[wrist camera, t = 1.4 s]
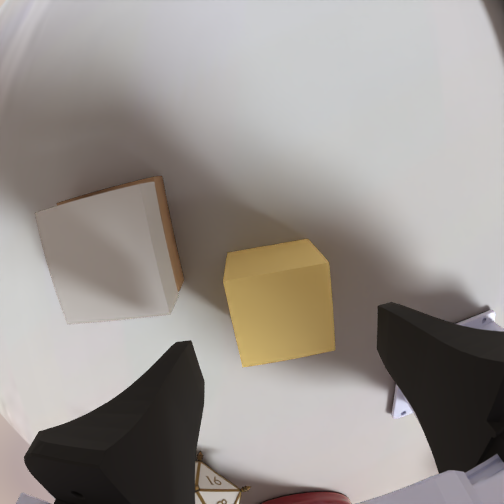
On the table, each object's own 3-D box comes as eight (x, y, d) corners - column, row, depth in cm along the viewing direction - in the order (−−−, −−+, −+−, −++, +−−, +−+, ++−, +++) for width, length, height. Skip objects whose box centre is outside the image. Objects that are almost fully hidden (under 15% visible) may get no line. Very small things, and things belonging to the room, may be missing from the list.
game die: (182, 436, 26) (103, 469, 17) (260, 443, 22) (187, 497, 13) (200, 505, 24) (134, 548, 15) (274, 518, 20) (217, 581, 11)
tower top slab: (154, 181, 14) (140, 183, 12) (178, 295, 16) (170, 314, 14) (57, 206, 14) (34, 212, 12) (84, 307, 16) (67, 324, 14)
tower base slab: (164, 175, 16) (153, 176, 14) (185, 277, 18) (179, 291, 16) (75, 198, 16) (56, 203, 14) (98, 290, 18) (84, 304, 16)
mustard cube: (307, 238, 17) (329, 262, 13) (315, 310, 18) (335, 350, 14) (227, 252, 17) (223, 281, 13) (242, 323, 18) (242, 367, 14)
